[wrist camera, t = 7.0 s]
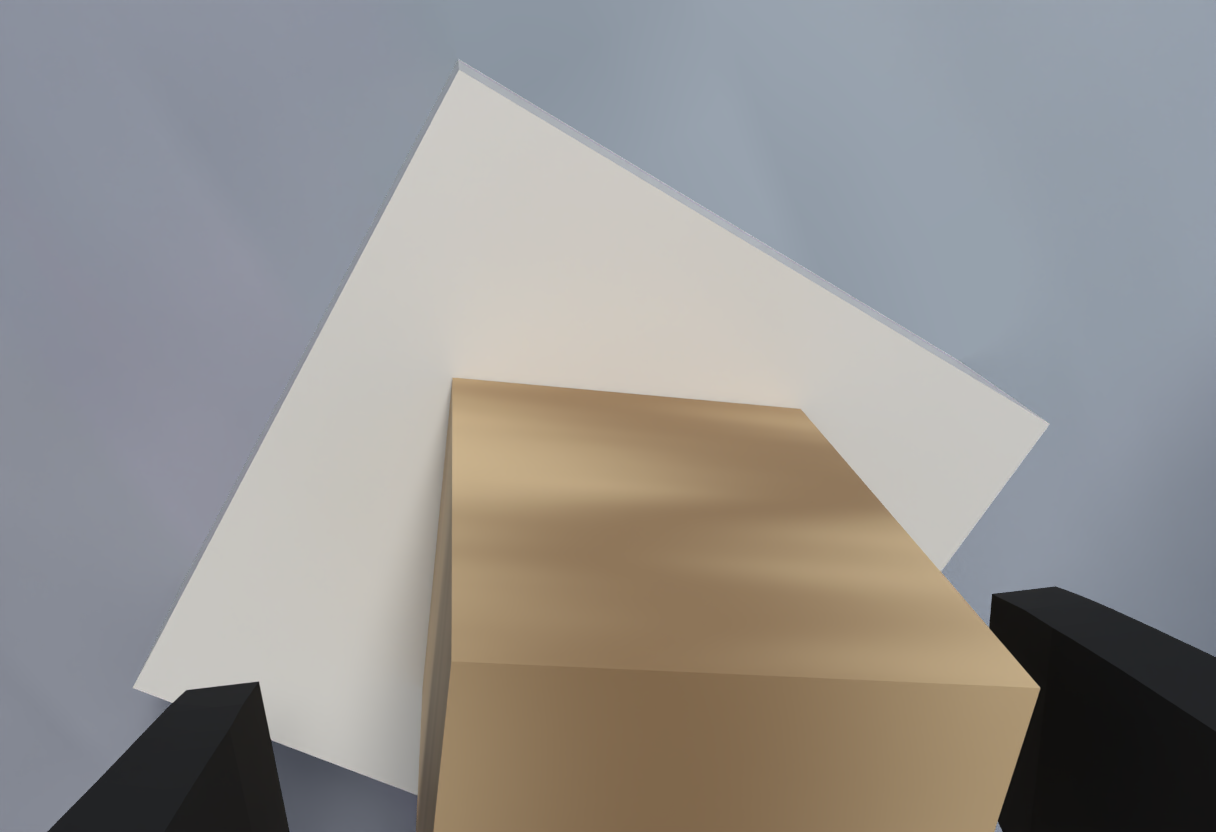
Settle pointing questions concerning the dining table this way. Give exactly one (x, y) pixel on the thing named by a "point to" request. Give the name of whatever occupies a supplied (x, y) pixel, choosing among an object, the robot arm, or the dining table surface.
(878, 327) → the tile block
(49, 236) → the dining table surface
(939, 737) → the oak block
